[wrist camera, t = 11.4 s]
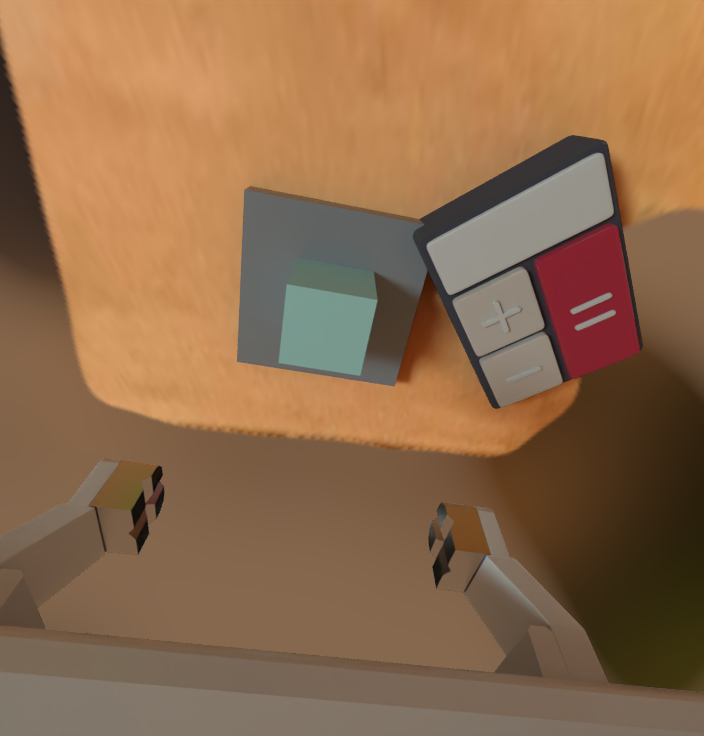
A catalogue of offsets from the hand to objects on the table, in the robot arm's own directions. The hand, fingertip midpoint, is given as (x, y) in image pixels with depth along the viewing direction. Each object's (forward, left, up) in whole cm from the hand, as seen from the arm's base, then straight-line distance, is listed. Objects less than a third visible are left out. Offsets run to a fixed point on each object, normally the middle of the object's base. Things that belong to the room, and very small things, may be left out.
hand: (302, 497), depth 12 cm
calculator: (-13, -2, -20) cm, 24 cm away
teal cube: (0, +1, -18) cm, 18 cm away
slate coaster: (0, +1, -19) cm, 19 cm away
